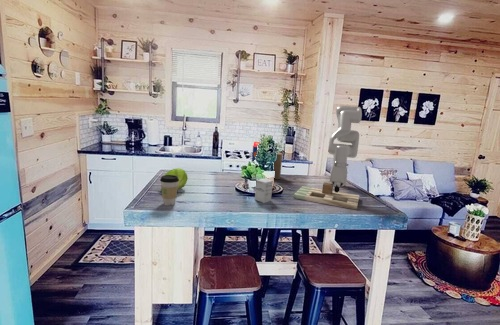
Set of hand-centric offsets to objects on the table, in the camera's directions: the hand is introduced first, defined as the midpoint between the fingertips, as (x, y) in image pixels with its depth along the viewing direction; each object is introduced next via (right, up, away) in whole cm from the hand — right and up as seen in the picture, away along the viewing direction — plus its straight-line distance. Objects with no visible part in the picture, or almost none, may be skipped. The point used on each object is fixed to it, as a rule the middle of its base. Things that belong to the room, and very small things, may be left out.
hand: (336, 192), depth 197 cm
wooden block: (-38, +7, +44) cm, 58 cm away
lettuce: (-104, +2, -6) cm, 104 cm away
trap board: (-7, -4, -3) cm, 8 cm away
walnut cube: (-6, -1, +2) cm, 6 cm away
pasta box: (-52, +5, +28) cm, 59 cm away
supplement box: (-49, -4, -16) cm, 52 cm away
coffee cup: (-101, -3, -32) cm, 106 cm away
